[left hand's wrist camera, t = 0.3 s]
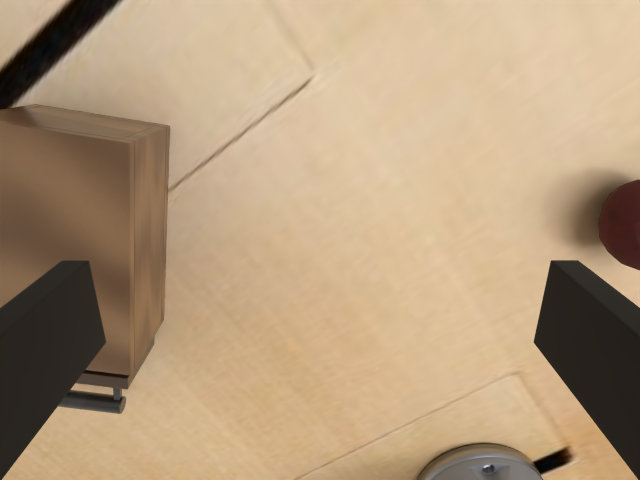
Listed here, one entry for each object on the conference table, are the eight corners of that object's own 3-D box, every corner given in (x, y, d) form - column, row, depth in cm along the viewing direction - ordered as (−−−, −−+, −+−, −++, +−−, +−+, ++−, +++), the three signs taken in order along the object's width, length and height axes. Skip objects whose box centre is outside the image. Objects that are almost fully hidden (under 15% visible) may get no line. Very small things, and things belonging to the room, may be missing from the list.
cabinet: (164, 319, 45) (130, 375, 37) (50, 304, 44) (-10, 358, 36) (170, 125, 38) (129, 143, 30) (34, 104, 37) (-45, 116, 29)
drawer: (153, 391, 47) (127, 442, 41) (56, 379, 47) (16, 428, 40) (158, 168, 38) (126, 189, 32) (38, 150, 38) (-18, 168, 31)
